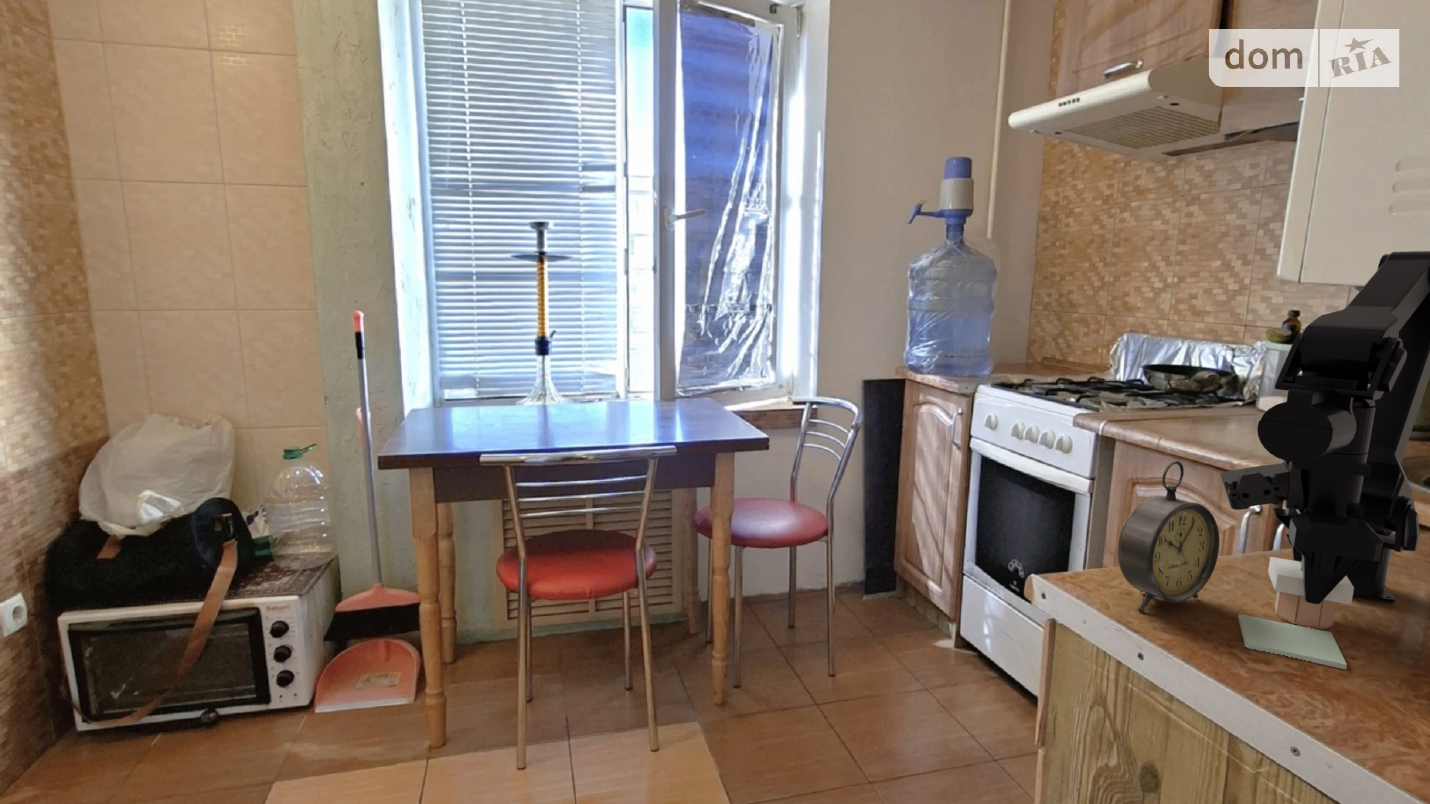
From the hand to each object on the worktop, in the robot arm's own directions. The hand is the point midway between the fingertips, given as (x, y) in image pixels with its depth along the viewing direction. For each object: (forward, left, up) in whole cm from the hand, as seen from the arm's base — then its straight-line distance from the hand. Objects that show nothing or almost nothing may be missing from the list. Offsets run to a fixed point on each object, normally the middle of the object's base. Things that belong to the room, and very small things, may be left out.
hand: (1306, 591), depth 74 cm
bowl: (0, 0, -3) cm, 3 cm away
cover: (0, 0, 0) cm, 0 cm away
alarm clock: (+3, -13, -3) cm, 14 cm away
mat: (+7, -2, -3) cm, 8 cm away
